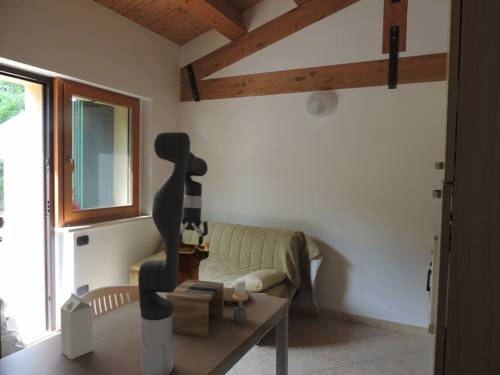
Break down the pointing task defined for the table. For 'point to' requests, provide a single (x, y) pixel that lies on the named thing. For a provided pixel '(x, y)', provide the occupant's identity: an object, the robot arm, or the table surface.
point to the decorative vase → (190, 260)
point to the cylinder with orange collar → (240, 302)
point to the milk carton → (76, 327)
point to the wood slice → (229, 297)
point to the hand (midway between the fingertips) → (190, 244)
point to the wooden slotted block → (196, 306)
